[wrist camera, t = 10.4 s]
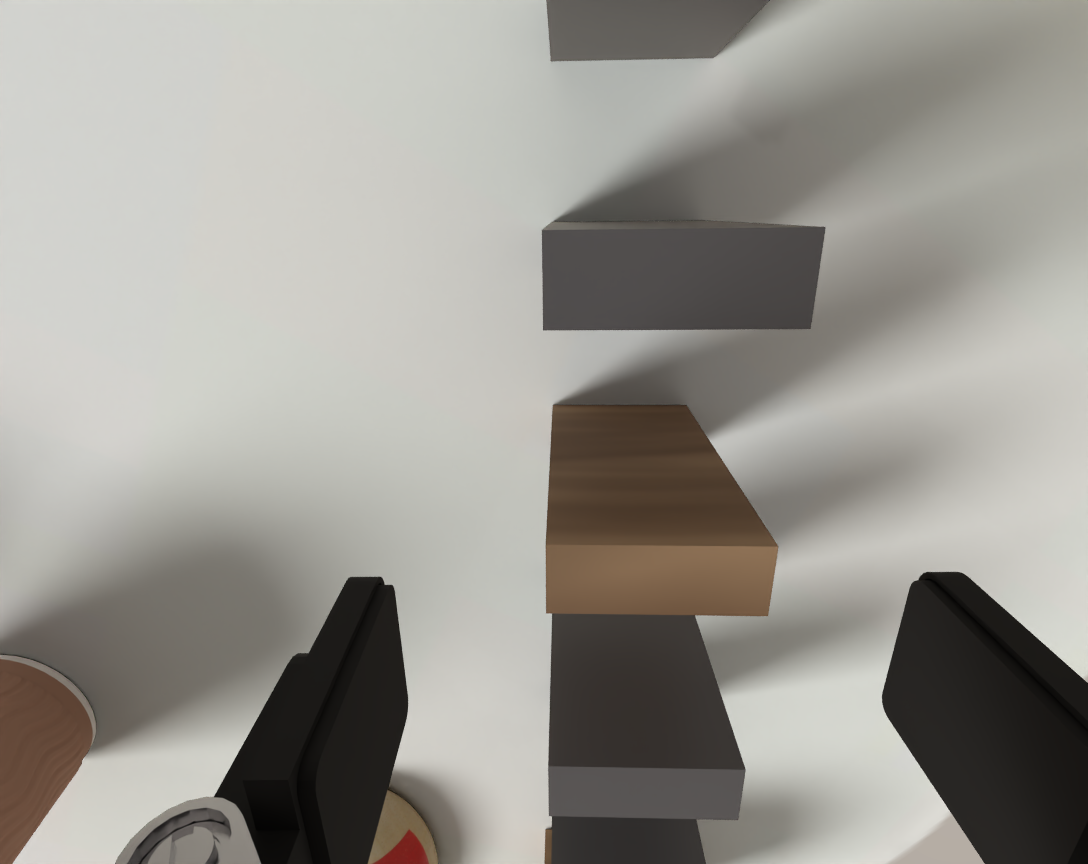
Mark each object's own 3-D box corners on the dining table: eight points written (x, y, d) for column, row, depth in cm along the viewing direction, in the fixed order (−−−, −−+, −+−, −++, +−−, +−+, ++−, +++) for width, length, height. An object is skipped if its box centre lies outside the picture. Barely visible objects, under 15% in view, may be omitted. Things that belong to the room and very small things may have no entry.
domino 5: (554, 677, 27) (550, 929, 17) (665, 679, 27) (721, 933, 17) (554, 708, 27) (550, 967, 18) (662, 709, 27) (715, 971, 18)
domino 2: (551, 221, 20) (541, 229, 11) (700, 220, 20) (825, 227, 10) (552, 276, 20) (542, 330, 11) (696, 275, 20) (810, 328, 11)
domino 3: (552, 404, 22) (545, 544, 13) (686, 405, 22) (778, 546, 13) (552, 449, 23) (546, 612, 13) (682, 449, 23) (767, 616, 13)
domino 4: (553, 554, 24) (548, 766, 15) (674, 554, 24) (745, 769, 15) (554, 590, 25) (549, 816, 16) (671, 591, 25) (738, 819, 16)
